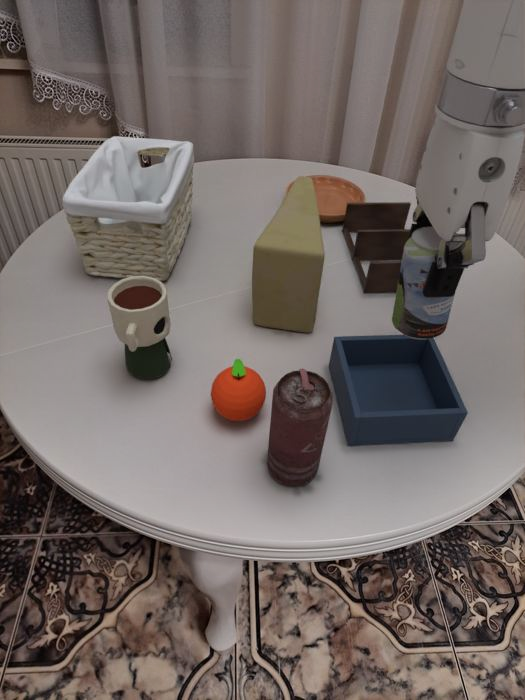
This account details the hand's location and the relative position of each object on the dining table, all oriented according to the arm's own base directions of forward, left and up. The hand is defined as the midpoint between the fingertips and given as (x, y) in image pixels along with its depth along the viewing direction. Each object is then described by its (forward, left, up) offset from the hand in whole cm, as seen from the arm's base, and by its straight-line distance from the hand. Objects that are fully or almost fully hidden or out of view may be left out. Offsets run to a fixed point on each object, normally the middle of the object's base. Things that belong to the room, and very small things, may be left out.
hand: (427, 273), depth 54 cm
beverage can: (0, 0, -7) cm, 7 cm away
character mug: (+32, -7, -21) cm, 39 cm away
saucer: (0, -50, -21) cm, 54 cm away
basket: (+35, -37, -21) cm, 55 cm away
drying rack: (-8, -31, -20) cm, 38 cm away
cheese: (+10, -24, -21) cm, 33 cm away
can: (+14, +10, -21) cm, 27 cm away
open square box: (0, +1, -20) cm, 20 cm away
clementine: (+20, +1, -21) cm, 29 cm away
